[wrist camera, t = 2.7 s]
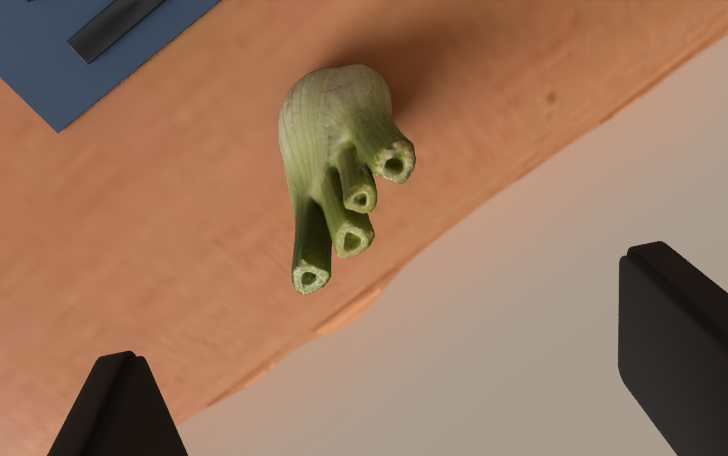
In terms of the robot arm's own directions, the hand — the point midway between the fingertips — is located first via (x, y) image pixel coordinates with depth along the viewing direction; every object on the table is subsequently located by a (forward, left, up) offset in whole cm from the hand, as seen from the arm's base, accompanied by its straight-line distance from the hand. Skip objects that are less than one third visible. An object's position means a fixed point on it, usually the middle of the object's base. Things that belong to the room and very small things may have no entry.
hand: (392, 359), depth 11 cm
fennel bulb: (0, 0, -19) cm, 19 cm away
